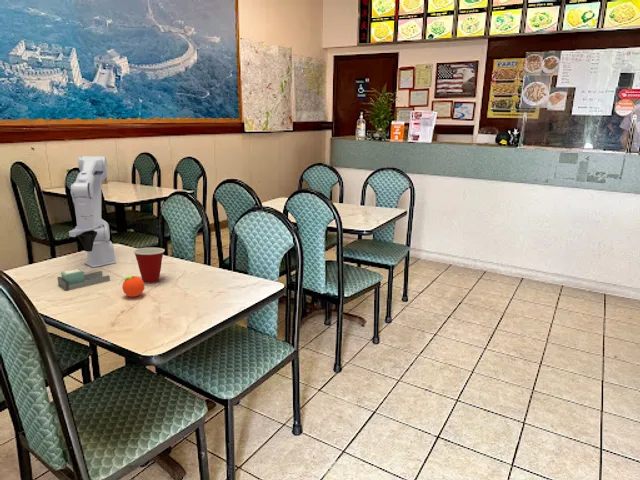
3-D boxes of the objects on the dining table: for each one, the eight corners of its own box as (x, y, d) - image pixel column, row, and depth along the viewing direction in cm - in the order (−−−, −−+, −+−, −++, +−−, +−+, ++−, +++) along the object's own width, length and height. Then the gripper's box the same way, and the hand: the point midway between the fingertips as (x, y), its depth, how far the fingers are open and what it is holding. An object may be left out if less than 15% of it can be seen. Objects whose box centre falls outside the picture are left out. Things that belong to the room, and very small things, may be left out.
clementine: (119, 301, 148) (117, 281, 146) (119, 293, 154) (118, 274, 152) (145, 298, 151) (143, 278, 149) (144, 291, 157) (143, 272, 155)
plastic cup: (171, 276, 173) (169, 246, 169) (158, 286, 162) (156, 254, 159) (144, 274, 173) (141, 244, 170) (130, 284, 163) (127, 252, 160)
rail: (101, 275, 171) (100, 268, 170) (110, 280, 166) (109, 272, 165) (58, 285, 160) (57, 277, 159) (66, 290, 155) (65, 282, 155)
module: (80, 281, 165) (78, 268, 163) (84, 284, 162) (83, 270, 161) (62, 285, 160) (60, 271, 159) (66, 288, 158) (65, 274, 156)
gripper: (89, 210, 171) (93, 244, 175) (59, 218, 158) (64, 255, 161) (105, 212, 170) (108, 246, 173) (77, 220, 156) (81, 257, 160)
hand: (88, 251), depth 167 cm, fingers closed
